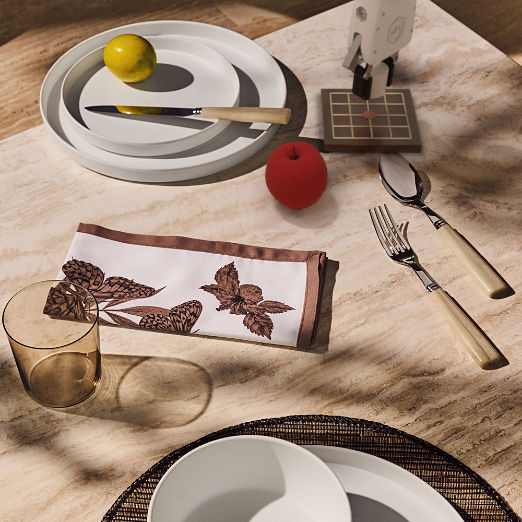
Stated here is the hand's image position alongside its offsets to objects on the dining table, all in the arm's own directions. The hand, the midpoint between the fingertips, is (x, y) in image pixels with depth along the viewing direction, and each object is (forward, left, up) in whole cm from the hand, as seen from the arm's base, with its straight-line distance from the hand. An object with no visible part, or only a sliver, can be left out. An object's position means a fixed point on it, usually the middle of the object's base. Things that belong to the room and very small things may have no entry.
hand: (371, 88), depth 106 cm
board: (0, 0, -7) cm, 7 cm away
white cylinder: (0, 0, 0) cm, 0 cm away
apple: (+12, +18, -7) cm, 23 cm away
